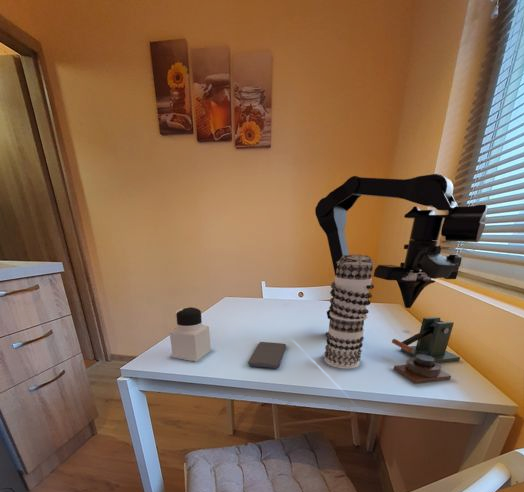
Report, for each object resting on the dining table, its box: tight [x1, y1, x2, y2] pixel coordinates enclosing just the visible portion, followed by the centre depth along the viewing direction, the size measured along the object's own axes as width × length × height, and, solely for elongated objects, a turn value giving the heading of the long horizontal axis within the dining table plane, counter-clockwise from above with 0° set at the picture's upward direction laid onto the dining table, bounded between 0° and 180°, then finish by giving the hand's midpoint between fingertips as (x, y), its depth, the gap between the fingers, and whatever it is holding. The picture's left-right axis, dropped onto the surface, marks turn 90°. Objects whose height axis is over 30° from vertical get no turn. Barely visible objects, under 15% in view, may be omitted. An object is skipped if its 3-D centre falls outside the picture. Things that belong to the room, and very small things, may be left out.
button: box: [414, 354, 435, 368], centre depth 61 cm, size 4×4×2 cm
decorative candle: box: [324, 254, 376, 369], centre depth 64 cm, size 9×9×25 cm
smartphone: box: [247, 341, 287, 369], centre depth 71 cm, size 8×1×15 cm
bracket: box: [400, 316, 461, 364], centre depth 71 cm, size 10×9×10 cm
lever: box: [391, 319, 444, 352], centre depth 69 cm, size 12×6×2 cm, turn 104°
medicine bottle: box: [169, 306, 212, 363], centre depth 69 cm, size 7×7×12 cm
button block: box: [393, 357, 452, 385], centre depth 62 cm, size 9×7×3 cm
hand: (407, 307), depth 69 cm, fingers closed
